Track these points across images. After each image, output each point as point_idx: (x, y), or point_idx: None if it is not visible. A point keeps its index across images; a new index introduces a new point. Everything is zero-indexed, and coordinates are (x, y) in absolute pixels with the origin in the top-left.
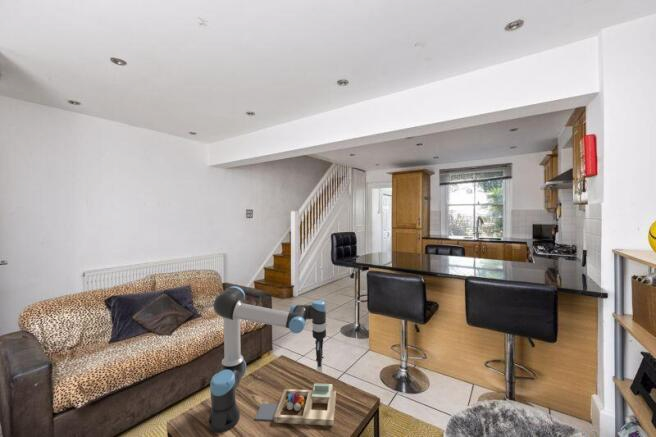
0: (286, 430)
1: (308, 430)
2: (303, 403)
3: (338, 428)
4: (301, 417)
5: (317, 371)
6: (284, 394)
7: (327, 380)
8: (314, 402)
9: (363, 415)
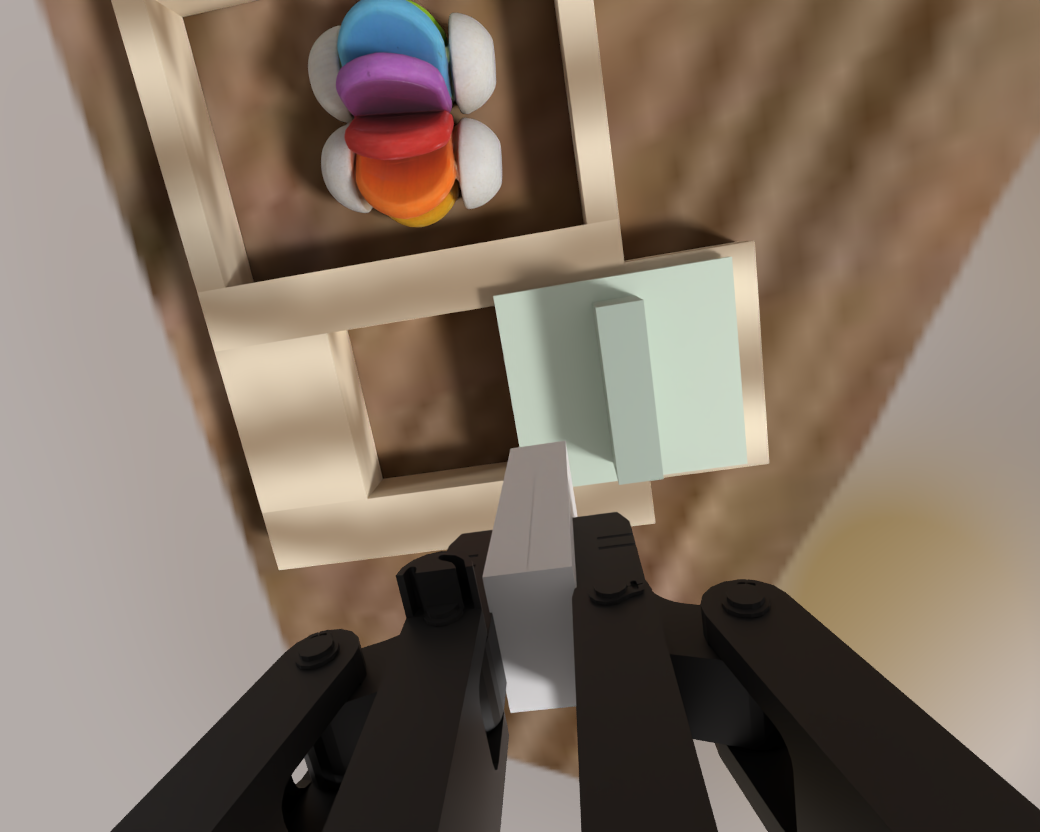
0: (113, 170)
1: (188, 367)
2: (414, 223)
3: (290, 587)
4: (204, 283)
5: (509, 455)
6: None
7: (898, 354)
8: None
9: None
